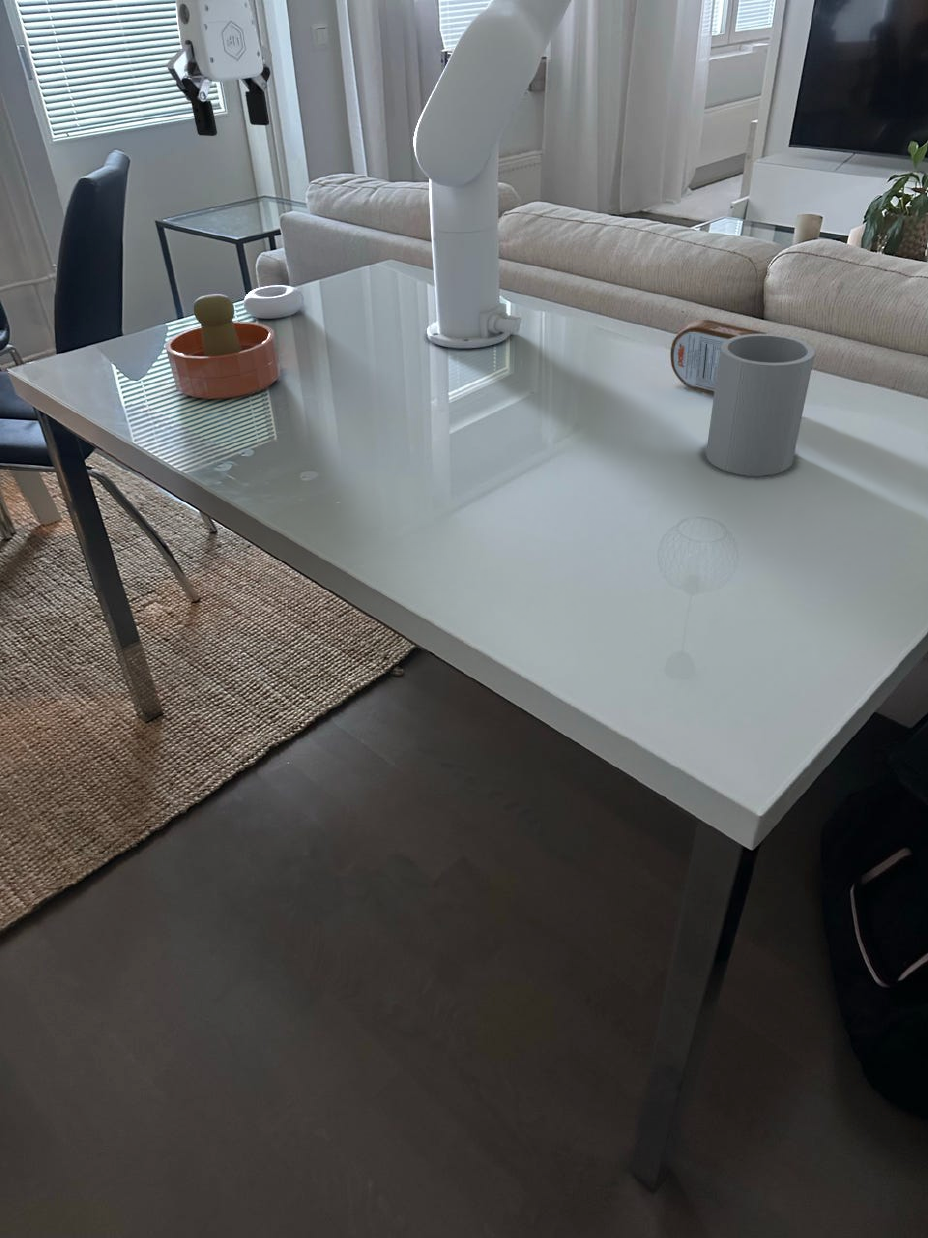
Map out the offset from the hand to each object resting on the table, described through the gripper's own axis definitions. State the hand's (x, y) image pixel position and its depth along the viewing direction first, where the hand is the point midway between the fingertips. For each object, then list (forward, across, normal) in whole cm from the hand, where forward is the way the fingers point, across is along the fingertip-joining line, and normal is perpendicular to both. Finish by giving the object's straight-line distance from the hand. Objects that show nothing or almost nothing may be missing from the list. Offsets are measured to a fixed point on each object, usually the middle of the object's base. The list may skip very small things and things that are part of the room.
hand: (234, 129), depth 117 cm
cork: (+28, -17, -8) cm, 34 cm away
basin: (+28, -17, -8) cm, 34 cm away
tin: (+28, +10, -69) cm, 75 cm away
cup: (+28, -5, -78) cm, 83 cm away
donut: (+28, +9, +8) cm, 31 cm away
